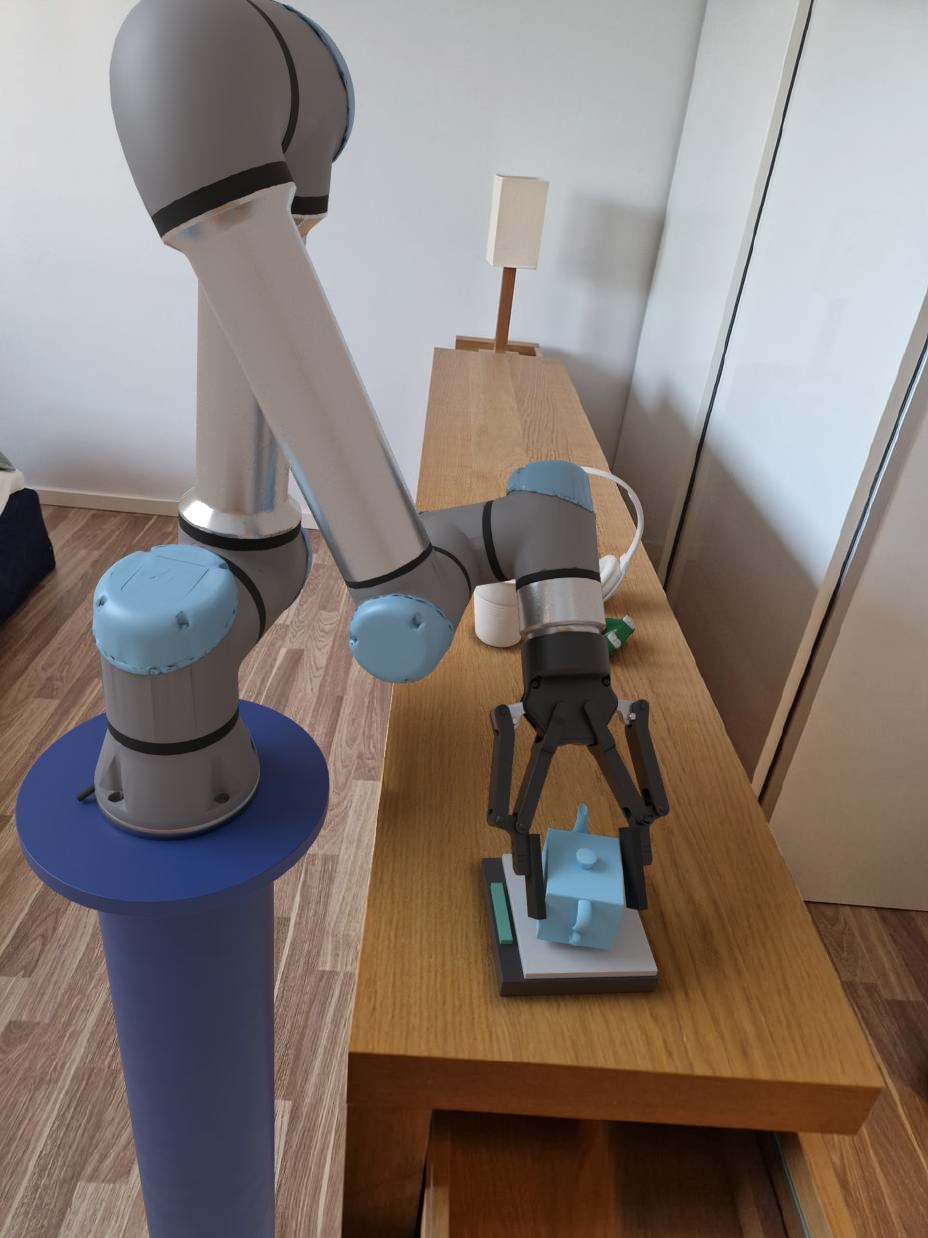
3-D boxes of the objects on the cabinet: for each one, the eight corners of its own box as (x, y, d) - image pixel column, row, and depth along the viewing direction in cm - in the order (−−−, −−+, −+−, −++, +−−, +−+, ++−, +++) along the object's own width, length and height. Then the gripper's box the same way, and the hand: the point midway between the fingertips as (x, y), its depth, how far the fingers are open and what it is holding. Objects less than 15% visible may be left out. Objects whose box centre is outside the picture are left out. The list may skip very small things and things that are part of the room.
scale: (499, 996, 70) (503, 976, 69) (479, 871, 81) (483, 852, 80) (654, 992, 72) (661, 972, 71) (614, 870, 83) (619, 851, 81)
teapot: (537, 851, 80) (550, 790, 76) (602, 861, 80) (619, 801, 76) (534, 962, 70) (549, 899, 66) (609, 973, 70) (628, 911, 66)
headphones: (501, 576, 130) (520, 450, 120) (622, 595, 130) (653, 469, 119) (497, 600, 124) (517, 468, 114) (625, 619, 124) (657, 489, 113)
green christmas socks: (582, 672, 114) (619, 657, 110) (567, 648, 114) (604, 632, 110) (608, 642, 121) (643, 627, 117) (594, 619, 121) (629, 603, 117)
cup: (465, 611, 120) (474, 540, 115) (536, 622, 120) (548, 551, 114) (457, 650, 112) (466, 575, 106) (533, 662, 112) (547, 587, 106)
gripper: (655, 644, 81) (684, 899, 76) (437, 648, 77) (453, 920, 72) (692, 626, 74) (727, 906, 69) (454, 629, 70) (473, 930, 64)
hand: (587, 913), depth 70 cm, fingers closed on teapot, 8 cm apart
